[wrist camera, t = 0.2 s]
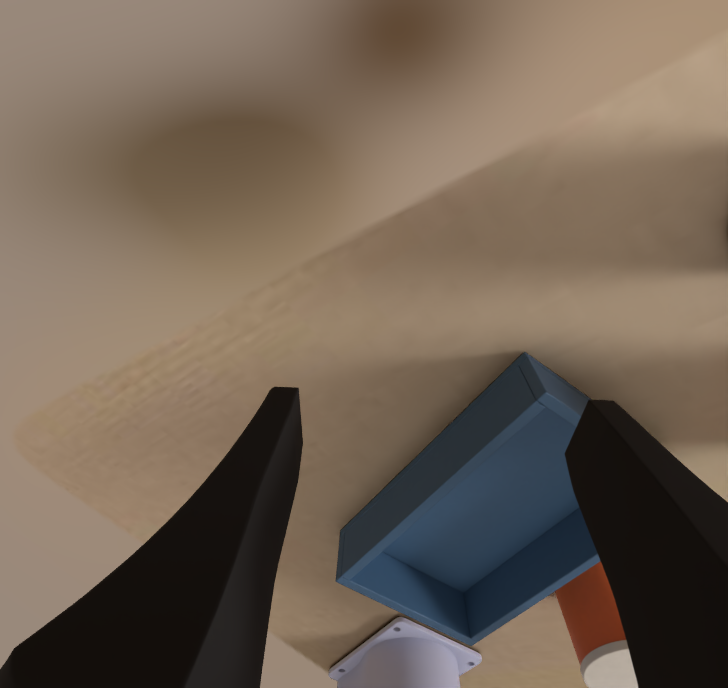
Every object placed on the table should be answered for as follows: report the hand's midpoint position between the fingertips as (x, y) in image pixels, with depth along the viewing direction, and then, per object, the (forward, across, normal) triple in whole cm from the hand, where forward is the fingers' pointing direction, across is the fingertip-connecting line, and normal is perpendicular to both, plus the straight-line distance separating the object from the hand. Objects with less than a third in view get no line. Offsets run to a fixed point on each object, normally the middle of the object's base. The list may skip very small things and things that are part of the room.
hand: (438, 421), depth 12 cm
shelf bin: (+8, -6, +15) cm, 18 cm away
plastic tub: (+7, -13, +21) cm, 26 cm away
